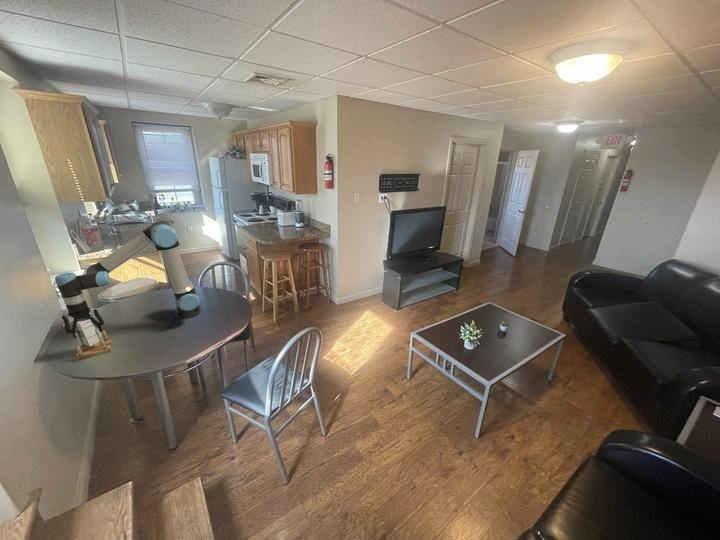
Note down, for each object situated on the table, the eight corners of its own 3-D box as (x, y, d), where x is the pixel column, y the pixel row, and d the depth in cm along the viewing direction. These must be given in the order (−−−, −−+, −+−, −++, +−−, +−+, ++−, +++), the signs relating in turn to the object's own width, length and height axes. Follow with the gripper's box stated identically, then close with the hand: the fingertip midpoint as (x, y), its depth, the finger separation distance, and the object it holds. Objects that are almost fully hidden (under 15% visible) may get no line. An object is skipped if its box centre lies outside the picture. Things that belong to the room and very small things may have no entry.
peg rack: (80, 349, 158) (75, 337, 155) (112, 340, 166) (108, 328, 163) (76, 361, 149) (71, 348, 146) (111, 351, 157) (106, 339, 154)
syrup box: (101, 340, 157) (92, 317, 152) (89, 346, 152) (79, 323, 146) (95, 338, 159) (85, 315, 153) (82, 344, 154) (72, 321, 148)
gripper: (45, 311, 138) (63, 349, 146) (100, 299, 149) (114, 336, 157) (49, 304, 143) (66, 342, 152) (102, 294, 154) (115, 330, 163)
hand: (90, 339), depth 155 cm, fingers closed on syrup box, 8 cm apart
